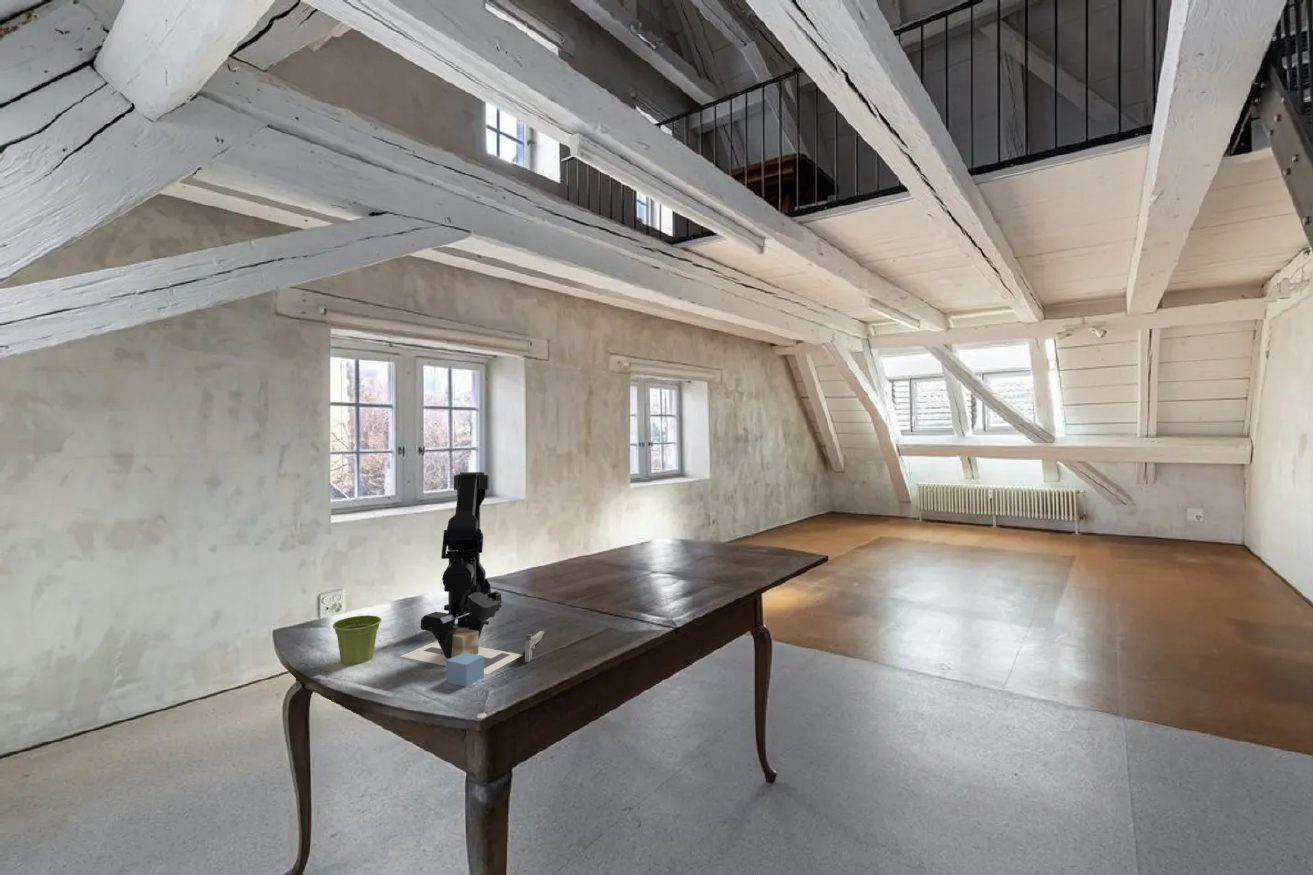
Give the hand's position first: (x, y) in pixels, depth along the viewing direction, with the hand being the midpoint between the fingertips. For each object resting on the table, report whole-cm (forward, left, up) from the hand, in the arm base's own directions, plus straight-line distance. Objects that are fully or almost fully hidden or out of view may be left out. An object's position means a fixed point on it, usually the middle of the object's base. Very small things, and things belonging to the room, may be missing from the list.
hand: (461, 652), depth 130 cm
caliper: (-12, +11, -2) cm, 16 cm away
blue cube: (+10, +10, -2) cm, 14 cm away
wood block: (0, 0, -1) cm, 1 cm away
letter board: (0, 0, -1) cm, 1 cm away
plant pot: (+11, -19, -2) cm, 22 cm away
